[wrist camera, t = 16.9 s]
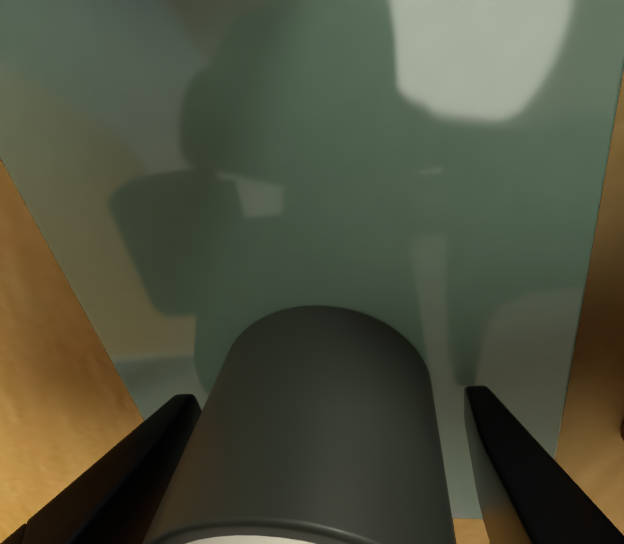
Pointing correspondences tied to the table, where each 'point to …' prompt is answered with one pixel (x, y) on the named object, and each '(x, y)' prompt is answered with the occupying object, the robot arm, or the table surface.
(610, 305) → the table surface
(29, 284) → the table surface
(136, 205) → the plate
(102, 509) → the robot arm
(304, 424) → the cylinder
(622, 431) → the sushi box
